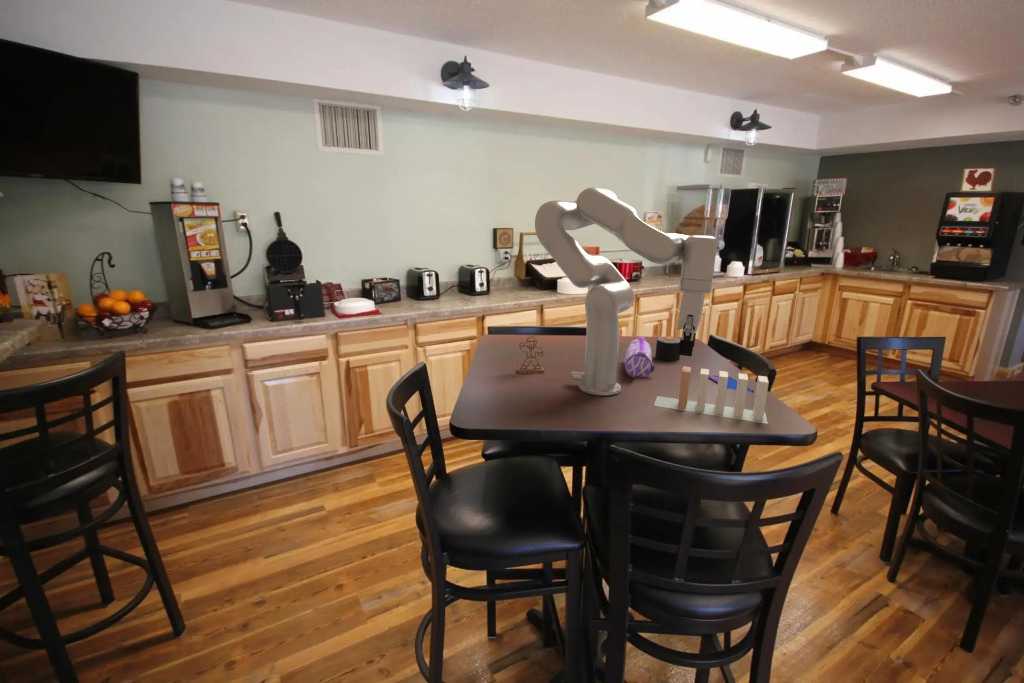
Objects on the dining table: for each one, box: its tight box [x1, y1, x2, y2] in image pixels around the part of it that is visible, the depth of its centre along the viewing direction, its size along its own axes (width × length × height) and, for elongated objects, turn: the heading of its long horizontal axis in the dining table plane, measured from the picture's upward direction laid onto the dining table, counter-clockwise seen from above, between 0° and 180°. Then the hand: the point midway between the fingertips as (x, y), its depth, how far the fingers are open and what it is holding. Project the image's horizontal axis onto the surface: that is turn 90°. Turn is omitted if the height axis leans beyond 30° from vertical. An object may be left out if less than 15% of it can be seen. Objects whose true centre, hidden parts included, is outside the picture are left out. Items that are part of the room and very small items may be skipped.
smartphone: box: [708, 375, 754, 393], centre depth 145 cm, size 7×1×15 cm
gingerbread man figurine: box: [516, 336, 546, 373], centre depth 154 cm, size 9×4×12 cm, turn 95°
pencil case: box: [623, 336, 655, 379], centre depth 158 cm, size 22×9×10 cm, turn 167°
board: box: [653, 395, 769, 425], centre depth 122 cm, size 27×8×1 cm, turn 66°
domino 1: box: [678, 365, 692, 409], centre depth 124 cm, size 2×5×10 cm, turn 156°
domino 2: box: [696, 368, 710, 411], centre depth 122 cm, size 2×5×10 cm, turn 156°
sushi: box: [655, 335, 681, 362], centre depth 173 cm, size 8×8×8 cm
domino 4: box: [733, 372, 749, 418], centre depth 118 cm, size 2×5×10 cm, turn 156°
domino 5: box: [752, 375, 770, 421], centre depth 117 cm, size 2×5×10 cm, turn 156°
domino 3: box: [714, 370, 729, 414], centre depth 120 cm, size 2×5×10 cm, turn 156°
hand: (686, 350), depth 122 cm, fingers open, 9 cm apart
